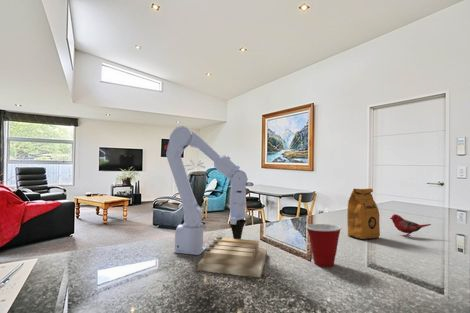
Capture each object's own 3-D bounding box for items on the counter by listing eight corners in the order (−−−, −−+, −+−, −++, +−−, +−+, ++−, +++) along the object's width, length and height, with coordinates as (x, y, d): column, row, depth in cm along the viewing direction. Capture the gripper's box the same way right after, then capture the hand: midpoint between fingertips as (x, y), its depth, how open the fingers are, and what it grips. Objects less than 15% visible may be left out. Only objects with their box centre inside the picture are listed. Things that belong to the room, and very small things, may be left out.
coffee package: (384, 239, 108) (383, 189, 110) (361, 241, 105) (360, 189, 106) (365, 233, 118) (365, 187, 119) (344, 235, 114) (344, 187, 115)
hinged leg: (213, 248, 84) (213, 238, 84) (215, 245, 87) (216, 236, 87) (257, 252, 80) (257, 241, 81) (258, 249, 83) (258, 239, 84)
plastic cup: (315, 255, 86) (315, 220, 86) (347, 264, 78) (347, 225, 79) (298, 263, 78) (299, 224, 79) (332, 274, 70) (332, 231, 71)
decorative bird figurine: (388, 234, 117) (388, 213, 117) (429, 237, 114) (429, 215, 115) (391, 236, 114) (391, 214, 115) (433, 238, 111) (433, 216, 112)
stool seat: (197, 270, 71) (198, 251, 71) (216, 249, 89) (217, 234, 90) (260, 277, 67) (260, 257, 67) (266, 254, 85) (267, 238, 86)
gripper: (244, 206, 83) (244, 247, 82) (252, 201, 97) (251, 236, 96) (224, 204, 84) (223, 245, 83) (234, 200, 98) (233, 234, 97)
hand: (237, 240), depth 90 cm, fingers closed
